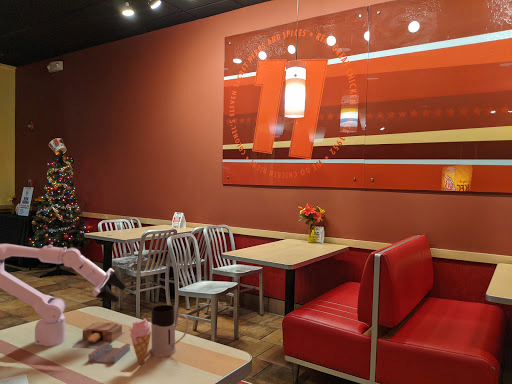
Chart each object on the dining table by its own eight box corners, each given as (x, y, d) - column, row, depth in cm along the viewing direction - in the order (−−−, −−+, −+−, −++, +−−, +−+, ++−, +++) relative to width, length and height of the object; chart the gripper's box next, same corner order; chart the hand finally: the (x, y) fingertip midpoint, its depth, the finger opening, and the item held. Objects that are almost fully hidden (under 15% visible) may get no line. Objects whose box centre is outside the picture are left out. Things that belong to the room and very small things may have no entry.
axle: (88, 345, 139) (86, 336, 139) (109, 330, 152) (107, 322, 153) (96, 343, 138) (94, 335, 138) (116, 328, 152) (114, 321, 152)
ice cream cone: (144, 370, 121) (143, 322, 121) (126, 368, 122) (125, 321, 122) (154, 361, 127) (153, 315, 127) (136, 359, 129) (136, 314, 128)
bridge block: (71, 349, 136) (71, 334, 136) (96, 333, 151) (96, 319, 151) (103, 351, 135) (103, 336, 134) (125, 335, 149) (124, 321, 149)
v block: (88, 364, 125) (88, 354, 125) (105, 351, 135) (105, 342, 135) (114, 366, 124) (114, 356, 124) (129, 353, 133) (129, 343, 133)
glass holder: (160, 344, 140) (159, 303, 140) (194, 350, 135) (194, 307, 135) (145, 354, 132) (144, 310, 132) (181, 361, 127) (180, 315, 127)
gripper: (89, 276, 136) (120, 300, 139) (105, 255, 150) (133, 277, 153) (78, 288, 138) (109, 311, 141) (95, 266, 152) (123, 288, 155)
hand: (121, 294), depth 147 cm, fingers open, 7 cm apart
